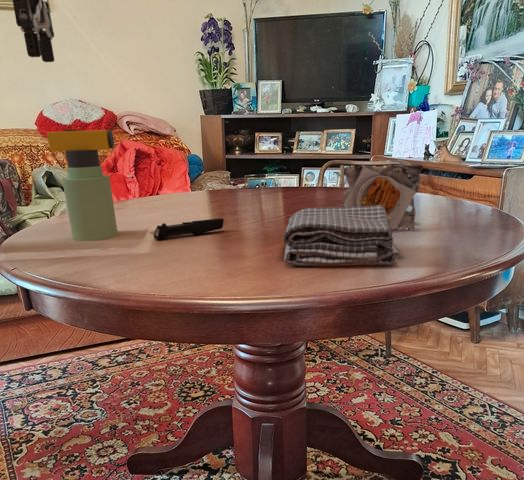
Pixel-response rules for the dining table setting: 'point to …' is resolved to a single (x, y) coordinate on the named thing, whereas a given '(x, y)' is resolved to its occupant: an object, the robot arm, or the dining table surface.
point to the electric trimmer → (188, 228)
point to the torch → (80, 140)
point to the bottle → (88, 197)
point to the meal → (385, 190)
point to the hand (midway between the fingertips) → (42, 59)
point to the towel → (339, 237)
